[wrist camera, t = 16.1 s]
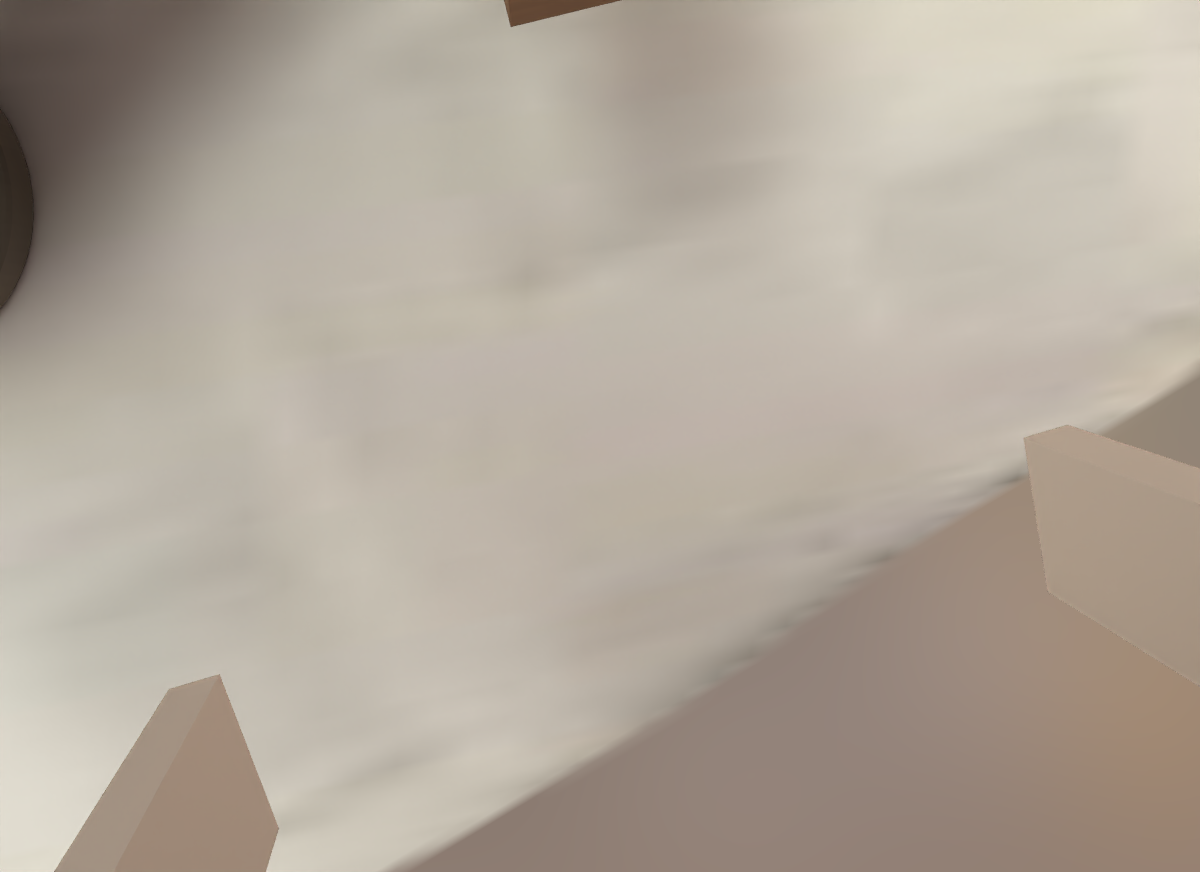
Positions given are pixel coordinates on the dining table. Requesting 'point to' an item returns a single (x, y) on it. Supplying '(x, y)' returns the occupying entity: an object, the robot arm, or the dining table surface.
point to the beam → (545, 8)
